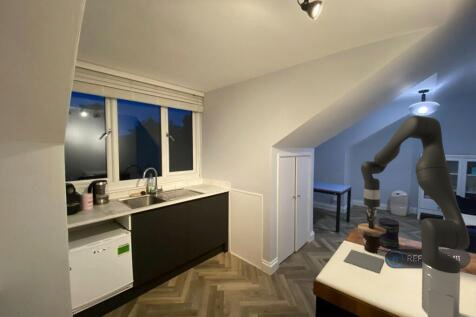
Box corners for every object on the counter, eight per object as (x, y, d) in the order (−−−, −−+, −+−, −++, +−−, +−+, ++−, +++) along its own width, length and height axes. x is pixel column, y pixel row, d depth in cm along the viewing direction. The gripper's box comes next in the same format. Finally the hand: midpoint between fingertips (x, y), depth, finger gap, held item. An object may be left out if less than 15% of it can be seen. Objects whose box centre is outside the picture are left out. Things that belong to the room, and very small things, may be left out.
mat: (378, 273, 92) (378, 272, 92) (343, 261, 103) (343, 260, 103) (383, 259, 103) (383, 259, 103) (351, 250, 113) (351, 249, 113)
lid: (383, 236, 102) (384, 226, 102) (355, 229, 111) (355, 220, 110) (387, 228, 111) (387, 219, 111) (360, 223, 120) (360, 214, 120)
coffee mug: (362, 245, 119) (362, 228, 118) (379, 248, 114) (379, 231, 114) (362, 254, 109) (362, 236, 108) (381, 258, 104) (381, 239, 104)
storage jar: (400, 251, 111) (400, 225, 110) (378, 247, 116) (378, 222, 115) (397, 244, 119) (397, 219, 118) (377, 240, 124) (377, 217, 124)
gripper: (377, 200, 102) (377, 233, 103) (382, 195, 112) (382, 225, 113) (360, 198, 108) (360, 229, 109) (366, 193, 118) (366, 222, 119)
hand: (371, 227), depth 111 cm, fingers closed on lid, 2 cm apart
